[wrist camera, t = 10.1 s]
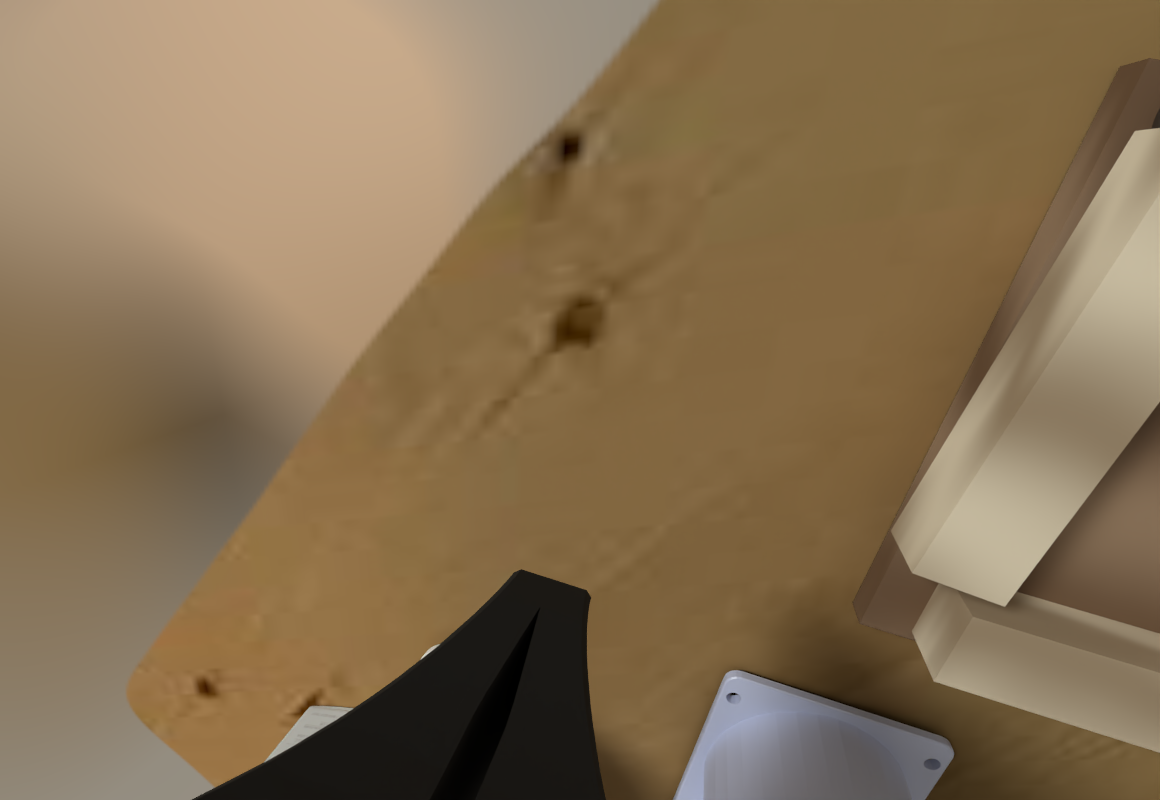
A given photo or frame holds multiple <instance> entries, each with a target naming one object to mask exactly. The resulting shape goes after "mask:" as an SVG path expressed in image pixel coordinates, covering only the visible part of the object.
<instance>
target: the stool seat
mask: <svg viewBox="0 0 1160 800" xmlns="http://www.w3.org/2000/svg"><path fill="white" fill-rule="evenodd" d="M1159 109H1160V60H1156V59H1151V58H1149V59H1146V60H1142V61H1138V62H1135V63H1131V64H1128V65H1124V66H1121V67H1120V68H1119V70H1118V72H1117V74H1116V76H1115V78H1114V80H1113V82H1112V84H1111V86H1110V88H1109V90H1108V92H1107V94H1106V96H1105V98H1104V100H1103V102H1102V104H1101V106H1100V108H1099V110H1098V112H1097V114H1096V116H1095V118H1094V120H1093V122H1092V124H1091V126H1090V128H1089V130H1088V132H1087V134H1086V136H1085V138H1084V140H1083V142H1082V144H1081V146H1080V148H1079V150H1078V152H1077V154H1076V156H1075V158H1074V160H1073V162H1072V164H1071V166H1070V168H1069V170H1068V172H1067V174H1066V176H1065V178H1064V180H1063V182H1062V184H1061V186H1060V188H1059V190H1058V192H1057V194H1056V196H1055V198H1054V200H1053V202H1052V204H1051V206H1050V208H1049V210H1048V212H1047V214H1046V216H1045V218H1044V220H1043V222H1042V224H1041V226H1040V228H1039V230H1038V232H1037V234H1036V236H1035V238H1034V240H1033V242H1032V244H1031V246H1030V248H1029V250H1028V252H1027V254H1026V256H1025V258H1024V260H1023V262H1022V264H1021V266H1020V268H1019V270H1018V272H1017V274H1016V276H1015V278H1014V280H1013V282H1012V284H1011V286H1010V288H1009V290H1008V292H1007V294H1006V296H1005V298H1004V300H1003V302H1002V304H1001V306H1000V308H999V310H998V312H997V314H996V316H995V318H994V320H993V322H992V324H991V326H990V328H989V330H988V332H987V334H986V336H985V338H984V340H983V342H982V344H981V346H980V348H979V350H978V352H977V354H976V357H975V359H974V361H973V363H972V365H971V367H970V369H969V371H968V373H967V375H966V377H965V379H964V381H963V383H962V385H961V387H960V389H959V391H958V393H957V395H956V397H955V399H954V401H953V403H952V405H951V407H950V409H949V411H948V413H947V415H946V417H945V419H944V421H943V423H942V425H941V427H940V429H939V431H938V433H937V435H936V437H935V439H934V441H933V443H932V445H931V447H930V449H929V451H928V453H927V455H926V457H925V459H924V461H923V463H922V465H921V467H920V469H919V471H918V473H917V475H916V477H915V479H914V481H913V483H912V485H911V487H910V489H909V491H908V493H907V495H906V497H905V499H904V501H903V503H902V505H901V507H900V509H899V511H898V513H897V515H896V517H895V519H894V521H893V523H892V525H891V527H890V529H889V531H888V533H887V535H886V537H885V539H884V541H883V543H882V545H881V547H880V549H879V551H878V553H877V555H876V557H875V559H874V561H873V563H872V565H871V567H870V569H869V571H868V573H867V575H866V577H865V579H864V581H863V583H862V585H861V587H860V589H859V591H858V593H857V595H856V597H855V599H854V601H853V605H854V608H855V611H856V614H857V618H858V621H859V624H862V625H866V626H869V627H872V628H875V629H879V630H882V631H885V632H888V633H892V634H895V635H898V636H901V637H905V638H908V639H911V640H914V641H916V642H917V645H918V647H919V649H920V651H921V654H922V656H923V658H924V660H925V663H926V665H927V667H928V670H929V672H930V674H931V676H932V679H933V681H934V682H937V683H941V684H944V685H947V686H950V687H953V688H956V689H960V690H963V691H966V692H969V693H972V694H975V695H979V696H982V697H985V698H988V699H991V700H994V701H998V702H1001V703H1004V704H1007V705H1010V706H1013V707H1017V708H1020V709H1023V710H1026V711H1029V712H1032V713H1036V714H1039V715H1042V716H1045V717H1048V718H1051V719H1055V720H1058V721H1061V722H1064V723H1067V724H1070V725H1074V726H1077V727H1080V728H1083V729H1086V730H1089V731H1093V732H1096V733H1099V734H1102V735H1105V736H1108V737H1112V738H1115V739H1118V740H1121V741H1124V742H1127V743H1131V744H1134V745H1137V746H1140V747H1143V748H1146V749H1150V750H1153V751H1156V752H1159V753H1160V402H1159V404H1158V405H1157V406H1156V408H1155V409H1154V410H1153V411H1152V413H1151V414H1150V415H1149V417H1148V418H1147V419H1146V421H1145V422H1144V423H1143V425H1142V426H1141V427H1140V429H1139V430H1138V431H1137V433H1136V434H1135V435H1134V437H1133V438H1132V439H1131V441H1130V442H1129V443H1128V445H1127V446H1126V447H1125V449H1124V450H1123V451H1122V453H1121V454H1120V455H1119V456H1118V458H1117V459H1116V460H1115V462H1114V463H1113V464H1112V466H1111V467H1110V468H1109V470H1108V471H1107V472H1106V474H1105V475H1104V476H1103V478H1102V479H1101V480H1100V482H1099V483H1098V484H1097V486H1096V487H1095V488H1094V490H1093V491H1092V492H1091V494H1090V495H1089V496H1088V497H1087V499H1086V500H1085V501H1084V503H1083V504H1082V505H1081V507H1080V508H1079V509H1078V511H1077V512H1076V513H1075V515H1074V516H1073V517H1072V519H1071V520H1070V521H1069V523H1068V524H1067V525H1066V527H1065V528H1064V529H1063V531H1062V532H1061V533H1060V535H1059V536H1058V537H1057V539H1056V540H1055V541H1054V542H1053V544H1052V545H1051V546H1050V548H1049V549H1048V550H1047V552H1046V553H1045V554H1044V556H1043V557H1042V558H1041V560H1040V561H1039V562H1038V564H1037V565H1036V566H1035V568H1034V569H1033V570H1032V572H1031V573H1030V574H1029V576H1028V577H1027V578H1026V580H1025V581H1024V582H1023V584H1022V585H1021V586H1020V587H1019V589H1018V590H1017V591H1016V593H1015V594H1014V595H1013V597H1012V598H1011V599H1010V601H1009V602H1008V603H1007V605H1006V606H1005V607H1004V606H1001V605H998V604H995V603H993V602H990V601H987V600H985V599H982V598H979V597H976V596H974V595H971V594H968V593H965V592H963V591H960V590H957V589H954V588H952V587H949V586H946V585H943V584H941V583H938V582H935V581H932V580H930V579H927V578H924V577H921V576H919V575H916V574H913V573H912V572H911V570H910V568H909V566H908V564H907V562H906V560H905V558H904V556H903V554H902V552H901V550H900V548H899V546H898V544H897V542H896V540H895V538H894V536H893V535H892V533H891V530H892V528H893V526H894V525H895V523H896V521H897V520H898V518H899V517H900V515H901V513H902V512H903V510H904V508H905V507H906V505H907V503H908V502H909V500H910V499H911V497H912V495H913V494H914V492H915V490H916V489H917V487H918V485H919V484H920V482H921V480H922V479H923V477H924V476H925V474H926V472H927V471H928V469H929V467H930V466H931V464H932V462H933V461H934V459H935V458H936V456H937V454H938V453H939V451H940V449H941V448H942V446H943V444H944V443H945V441H946V440H947V438H948V436H949V435H950V433H951V431H952V430H953V428H954V426H955V425H956V423H957V422H958V420H959V418H960V417H961V415H962V413H963V412H964V410H965V408H966V407H967V405H968V404H969V402H970V400H971V399H972V397H973V395H974V394H975V392H976V390H977V389H978V387H979V385H980V384H981V382H982V381H983V379H984V377H985V376H986V374H987V372H988V371H989V369H990V367H991V366H992V364H993V363H994V361H995V359H996V358H997V356H998V354H999V353H1000V351H1001V349H1002V348H1003V346H1004V345H1005V343H1006V341H1007V340H1008V338H1009V336H1010V335H1011V333H1012V331H1013V330H1014V328H1015V327H1016V325H1017V323H1018V322H1019V320H1020V318H1021V317H1022V315H1023V313H1024V312H1025V310H1026V309H1027V307H1028V305H1029V304H1030V302H1031V300H1032V299H1033V297H1034V295H1035V294H1036V292H1037V290H1038V289H1039V287H1040V286H1041V284H1042V282H1043V281H1044V279H1045V277H1046V276H1047V274H1048V272H1049V271H1050V269H1051V268H1052V266H1053V264H1054V263H1055V261H1056V259H1057V258H1058V256H1059V254H1060V253H1061V251H1062V250H1063V248H1064V246H1065V245H1066V243H1067V241H1068V240H1069V238H1070V236H1071V235H1072V233H1073V232H1074V230H1075V228H1076V227H1077V225H1078V223H1079V222H1080V220H1081V218H1082V217H1083V215H1084V213H1085V212H1086V210H1087V209H1088V207H1089V205H1090V204H1091V202H1092V200H1093V199H1094V197H1095V195H1096V194H1097V192H1098V191H1099V189H1100V187H1101V186H1102V184H1103V182H1104V181H1105V179H1106V177H1107V176H1108V174H1109V173H1110V171H1111V169H1112V168H1113V166H1114V164H1115V163H1116V161H1117V159H1118V158H1119V156H1120V155H1121V153H1122V151H1123V150H1124V148H1125V146H1126V145H1127V143H1128V141H1129V140H1130V138H1131V137H1132V135H1133V133H1134V132H1135V131H1139V130H1147V129H1152V125H1153V122H1154V119H1155V117H1156V115H1157V113H1158V111H1159Z"/></svg>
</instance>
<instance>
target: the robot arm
mask: <svg viewBox="0 0 1160 800" xmlns="http://www.w3.org/2000/svg"><path fill="white" fill-rule="evenodd" d="M590 600H591V597H590V595H589V593H588V592H587V590H584V589H581V588H578V587H575V586H572V585H568V584H565V583H562V582H559V581H556V580H553V579H550V578H547V577H543V576H540V575H537V574H534V573H531V572H528V571H525V570H522V569H521V570H519V571H517V572H514V573H513V575H512V576H511V577H510V578H509V579H508V580H507V582H506V583H505V584H504V585H503V586H502V587H501V588H500V589H499V590H498V591H497V592H496V593H495V594H494V595H493V596H492V597H491V598H490V599H489V600H488V601H487V602H486V603H485V604H484V605H483V606H482V607H481V608H480V609H479V610H478V611H477V612H476V613H475V614H474V615H473V616H472V617H470V618H469V619H468V620H467V621H466V622H465V623H464V624H463V625H461V626H460V627H459V628H458V629H457V630H456V631H455V632H454V633H452V634H451V635H450V636H449V637H448V638H447V639H446V640H444V641H443V642H442V643H441V644H440V645H439V646H437V647H436V648H435V649H434V650H432V651H431V652H430V653H429V654H427V655H426V656H425V657H423V658H422V659H421V660H420V661H418V662H417V663H416V664H415V665H413V666H412V667H411V668H409V669H408V670H407V671H406V672H404V673H403V674H402V675H401V676H399V677H398V678H397V679H395V680H394V681H392V682H391V683H390V684H388V685H387V686H386V687H384V688H383V689H381V690H380V691H379V692H377V693H376V694H374V695H373V696H371V697H370V698H369V699H367V700H366V701H364V702H363V703H361V704H360V705H358V706H357V707H355V708H354V709H352V710H351V711H349V712H348V713H346V714H345V715H343V716H342V717H340V718H338V719H337V720H335V721H334V722H332V723H330V724H329V725H327V726H325V727H324V728H322V729H320V730H319V731H317V732H315V733H314V734H312V735H311V736H309V737H307V738H306V739H304V740H302V741H301V742H299V743H297V744H296V745H294V746H292V747H291V748H289V749H287V750H285V751H284V752H282V753H280V754H278V755H277V756H275V757H273V758H271V759H269V760H268V761H266V762H264V763H262V764H260V765H258V766H256V767H254V768H252V769H251V770H249V771H247V772H245V773H243V774H241V775H239V776H237V777H235V778H233V779H231V780H229V781H227V782H225V783H223V784H221V785H219V786H218V787H216V788H214V789H212V790H210V791H208V792H206V793H204V794H202V795H200V796H198V797H196V798H194V799H192V800H606V799H605V794H604V789H603V784H602V779H601V773H600V768H599V762H598V756H597V750H596V743H595V736H594V729H593V722H592V714H591V705H590V694H589V682H588V669H587V619H588V610H589V604H590ZM729 693H737V694H738V695H731V694H729ZM953 757H954V751H953V748H952V746H951V744H950V742H949V741H948V740H947V739H946V738H944V737H942V736H940V735H936V734H933V733H930V732H927V731H924V730H921V729H918V728H915V727H912V726H909V725H906V724H903V723H900V722H897V721H894V720H890V719H887V718H884V717H881V716H878V715H875V714H872V713H869V712H866V711H863V710H860V709H857V708H854V707H851V706H848V705H844V704H841V703H838V702H835V701H832V700H829V699H826V698H823V697H820V696H817V695H814V694H811V693H808V692H805V691H802V690H798V689H795V688H792V687H789V686H786V685H783V684H780V683H777V682H774V681H771V680H768V679H765V678H762V677H759V676H756V675H753V674H749V673H746V672H743V671H739V670H733V671H730V672H728V673H726V675H725V676H724V678H723V680H722V683H721V685H720V688H719V690H718V692H717V695H716V697H715V700H714V702H713V704H712V707H711V709H710V712H709V714H708V717H707V719H706V721H705V724H704V726H703V729H702V731H701V733H700V736H699V738H698V741H697V743H696V745H695V748H694V750H693V753H692V755H691V758H690V760H689V762H688V765H687V767H686V770H685V772H684V774H683V777H682V779H681V782H680V784H679V786H678V789H677V791H676V794H675V796H674V798H673V800H925V799H926V798H927V796H928V795H929V793H930V792H931V790H932V789H933V787H934V786H935V784H936V783H937V781H938V780H939V778H940V777H941V775H942V774H943V772H944V771H945V769H946V768H947V766H948V765H949V763H950V762H951V761H952V759H953ZM928 759H930V760H928Z"/></svg>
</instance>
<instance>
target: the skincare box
mask: <svg viewBox="0 0 1160 800" xmlns="http://www.w3.org/2000/svg"><path fill="white" fill-rule="evenodd" d="M352 709H354V708H347V707H333V706H311V707H309V708H308V709H307V710H306V712H305V713H304V714H303V715H302V716H301V718H300V719H299V720H298V721H297V723H296V724H295V725H294V726H293V727H292V729H291V730H290V731H289V732H288V734H287V735H286V736H285V737H284V739H283V740H282V741H281V742H280V743H279V745H278V746H277V747H276V748H275V750H274V751H273V752H272V753H271V754H270V756H269V757H268V758H267V759H266V761H268V760H269V759H271V758H273V757H275V756H277V755H278V754H280V753H282V752H284V751H285V750H287V749H289V748H291V747H292V746H294V745H296V744H297V743H299V742H301V741H302V740H304V739H306V738H307V737H309V736H311V735H312V734H314V733H315V732H317V731H319V730H320V729H322V728H324V727H325V726H327V725H329V724H330V723H332V722H334V721H335V720H337V719H338V718H340V717H342V716H343V715H345V714H346V713H348V712H349V711H351V710H352ZM266 761H265V762H266Z"/></svg>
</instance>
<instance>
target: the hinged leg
mask: <svg viewBox="0 0 1160 800" xmlns="http://www.w3.org/2000/svg"><path fill="white" fill-rule="evenodd" d="M1159 402H1160V109H1159V111H1158V113H1157V115H1156V117H1155V119H1154V122H1153V125H1152V129H1147V130H1139V131H1135V132H1134V133H1133V135H1132V137H1131V138H1130V140H1129V141H1128V143H1127V145H1126V146H1125V148H1124V150H1123V151H1122V153H1121V155H1120V156H1119V158H1118V159H1117V161H1116V163H1115V164H1114V166H1113V168H1112V169H1111V171H1110V173H1109V174H1108V176H1107V177H1106V179H1105V181H1104V182H1103V184H1102V186H1101V187H1100V189H1099V191H1098V192H1097V194H1096V195H1095V197H1094V199H1093V200H1092V202H1091V204H1090V205H1089V207H1088V209H1087V210H1086V212H1085V213H1084V215H1083V217H1082V218H1081V220H1080V222H1079V223H1078V225H1077V227H1076V228H1075V230H1074V232H1073V233H1072V235H1071V236H1070V238H1069V240H1068V241H1067V243H1066V245H1065V246H1064V248H1063V250H1062V251H1061V253H1060V254H1059V256H1058V258H1057V259H1056V261H1055V263H1054V264H1053V266H1052V268H1051V269H1050V271H1049V272H1048V274H1047V276H1046V277H1045V279H1044V281H1043V282H1042V284H1041V286H1040V287H1039V289H1038V290H1037V292H1036V294H1035V295H1034V297H1033V299H1032V300H1031V302H1030V304H1029V305H1028V307H1027V309H1026V310H1025V312H1024V313H1023V315H1022V317H1021V318H1020V320H1019V322H1018V323H1017V325H1016V327H1015V328H1014V330H1013V331H1012V333H1011V335H1010V336H1009V338H1008V340H1007V341H1006V343H1005V345H1004V346H1003V348H1002V349H1001V351H1000V353H999V354H998V356H997V358H996V359H995V361H994V363H993V364H992V366H991V367H990V369H989V371H988V372H987V374H986V376H985V377H984V379H983V381H982V382H981V384H980V385H979V387H978V389H977V390H976V392H975V394H974V395H973V397H972V399H971V400H970V402H969V404H968V405H967V407H966V408H965V410H964V412H963V413H962V415H961V417H960V418H959V420H958V422H957V423H956V425H955V426H954V428H953V430H952V431H951V433H950V435H949V436H948V438H947V440H946V441H945V443H944V444H943V446H942V448H941V449H940V451H939V453H938V454H937V456H936V458H935V459H934V461H933V462H932V464H931V466H930V467H929V469H928V471H927V472H926V474H925V476H924V477H923V479H922V480H921V482H920V484H919V485H918V487H917V489H916V490H915V492H914V494H913V495H912V497H911V499H910V500H909V502H908V503H907V505H906V507H905V508H904V510H903V512H902V513H901V515H900V517H899V518H898V520H897V521H896V523H895V525H894V526H893V528H892V530H891V533H892V535H893V536H894V538H895V540H896V542H897V544H898V546H899V548H900V550H901V552H902V554H903V556H904V558H905V560H906V562H907V564H908V566H909V568H910V570H911V572H912V573H913V574H916V575H919V576H921V577H924V578H927V579H930V580H932V581H935V582H938V583H941V584H943V585H946V586H949V587H952V588H954V589H957V590H960V591H963V592H965V593H968V594H971V595H974V596H976V597H979V598H982V599H985V600H987V601H990V602H993V603H995V604H998V605H1001V606H1004V607H1005V606H1006V605H1007V603H1008V602H1009V601H1010V599H1011V598H1012V597H1013V595H1014V594H1015V593H1016V591H1017V590H1018V589H1019V587H1020V586H1021V585H1022V584H1023V582H1024V581H1025V580H1026V578H1027V577H1028V576H1029V574H1030V573H1031V572H1032V570H1033V569H1034V568H1035V566H1036V565H1037V564H1038V562H1039V561H1040V560H1041V558H1042V557H1043V556H1044V554H1045V553H1046V552H1047V550H1048V549H1049V548H1050V546H1051V545H1052V544H1053V542H1054V541H1055V540H1056V539H1057V537H1058V536H1059V535H1060V533H1061V532H1062V531H1063V529H1064V528H1065V527H1066V525H1067V524H1068V523H1069V521H1070V520H1071V519H1072V517H1073V516H1074V515H1075V513H1076V512H1077V511H1078V509H1079V508H1080V507H1081V505H1082V504H1083V503H1084V501H1085V500H1086V499H1087V497H1088V496H1089V495H1090V494H1091V492H1092V491H1093V490H1094V488H1095V487H1096V486H1097V484H1098V483H1099V482H1100V480H1101V479H1102V478H1103V476H1104V475H1105V474H1106V472H1107V471H1108V470H1109V468H1110V467H1111V466H1112V464H1113V463H1114V462H1115V460H1116V459H1117V458H1118V456H1119V455H1120V454H1121V453H1122V451H1123V450H1124V449H1125V447H1126V446H1127V445H1128V443H1129V442H1130V441H1131V439H1132V438H1133V437H1134V435H1135V434H1136V433H1137V431H1138V430H1139V429H1140V427H1141V426H1142V425H1143V423H1144V422H1145V421H1146V419H1147V418H1148V417H1149V415H1150V414H1151V413H1152V411H1153V410H1154V409H1155V408H1156V406H1157V405H1158V404H1159Z"/></svg>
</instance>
